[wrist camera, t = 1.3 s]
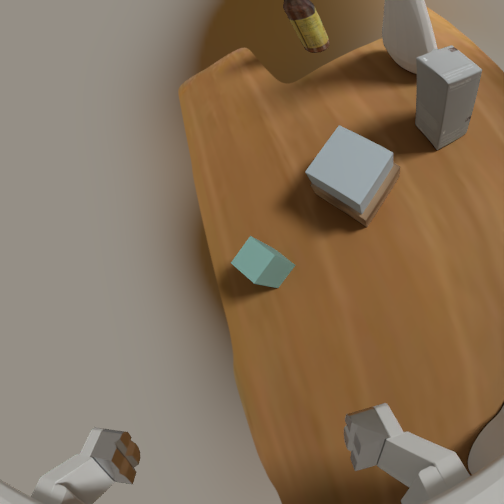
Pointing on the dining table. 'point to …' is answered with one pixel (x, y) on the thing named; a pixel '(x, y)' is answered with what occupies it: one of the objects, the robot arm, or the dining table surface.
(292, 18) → the sauce bottle
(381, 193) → the walnut block
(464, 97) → the skincare box
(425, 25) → the soap bottle
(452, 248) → the dining table surface
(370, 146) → the grey block
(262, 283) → the teal block
